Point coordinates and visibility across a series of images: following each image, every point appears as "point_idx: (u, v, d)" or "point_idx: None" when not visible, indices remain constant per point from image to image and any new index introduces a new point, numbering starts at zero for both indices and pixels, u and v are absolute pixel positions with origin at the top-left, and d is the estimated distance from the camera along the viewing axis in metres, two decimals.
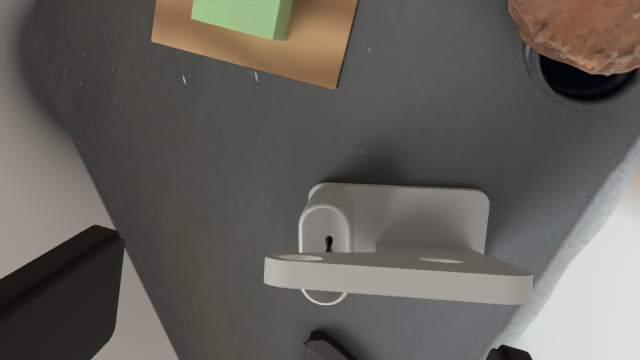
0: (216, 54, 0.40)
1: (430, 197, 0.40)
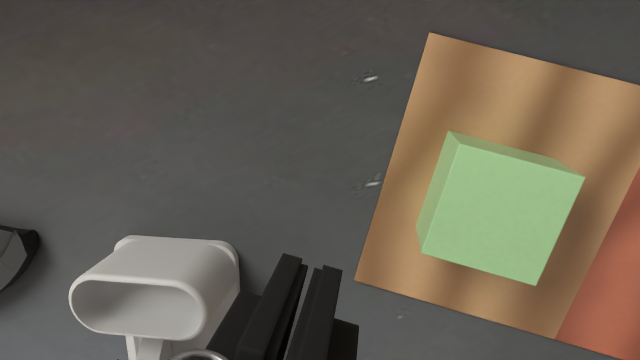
0: (404, 133, 0.28)
1: None
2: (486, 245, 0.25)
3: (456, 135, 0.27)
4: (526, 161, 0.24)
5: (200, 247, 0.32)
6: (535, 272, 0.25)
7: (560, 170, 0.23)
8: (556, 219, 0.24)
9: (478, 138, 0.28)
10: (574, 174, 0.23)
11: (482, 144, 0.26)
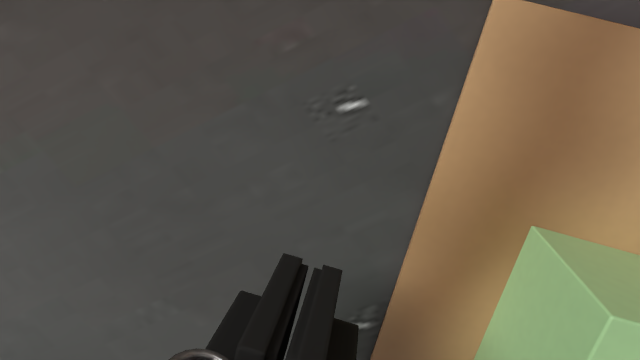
0: (429, 228, 0.13)
1: None
2: None
3: (563, 251, 0.11)
4: None
5: None
6: None
7: None
8: None
9: (603, 245, 0.12)
10: None
11: None
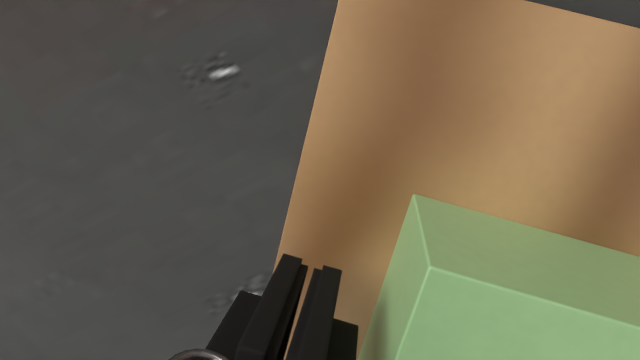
0: (304, 195, 0.13)
1: None
2: None
3: (428, 215, 0.11)
4: (632, 325, 0.08)
5: None
6: None
7: None
8: None
9: (482, 213, 0.12)
10: None
11: (494, 247, 0.10)
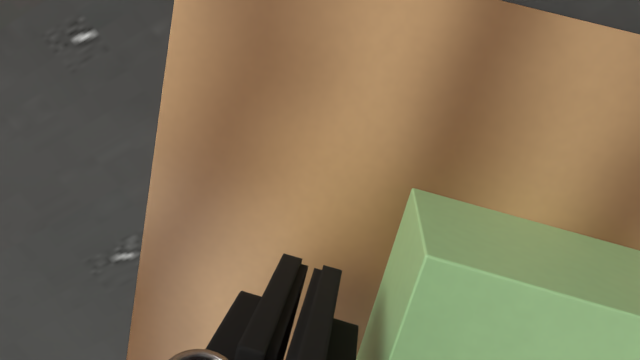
0: (164, 155, 0.13)
1: None
2: None
3: (427, 207, 0.11)
4: (625, 312, 0.08)
5: None
6: None
7: None
8: None
9: (481, 207, 0.12)
10: None
11: (491, 238, 0.10)
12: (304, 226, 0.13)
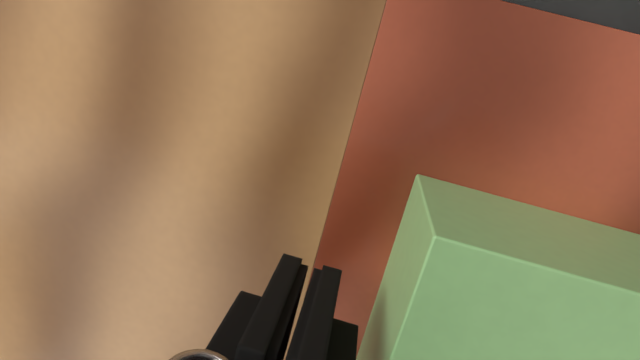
0: None
1: None
2: None
3: (432, 192, 0.11)
4: (639, 293, 0.08)
5: None
6: None
7: None
8: None
9: (486, 193, 0.12)
10: None
11: (499, 222, 0.10)
12: (25, 145, 0.14)
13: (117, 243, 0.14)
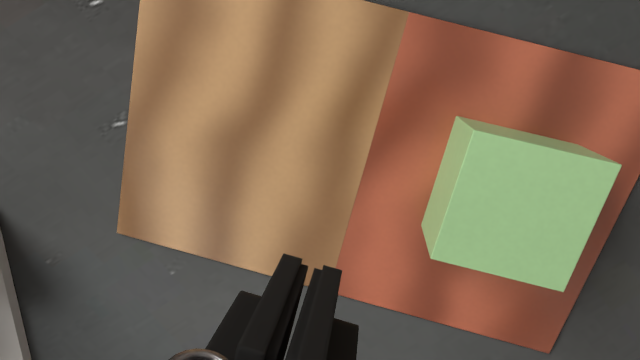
0: (139, 64, 0.26)
1: (7, 340, 0.33)
2: (506, 247, 0.22)
3: (467, 121, 0.23)
4: (552, 148, 0.20)
5: None
6: (563, 276, 0.22)
7: (592, 158, 0.20)
8: (587, 215, 0.21)
9: (491, 124, 0.24)
10: (608, 162, 0.20)
11: (498, 130, 0.22)
12: (212, 99, 0.26)
13: (259, 153, 0.26)
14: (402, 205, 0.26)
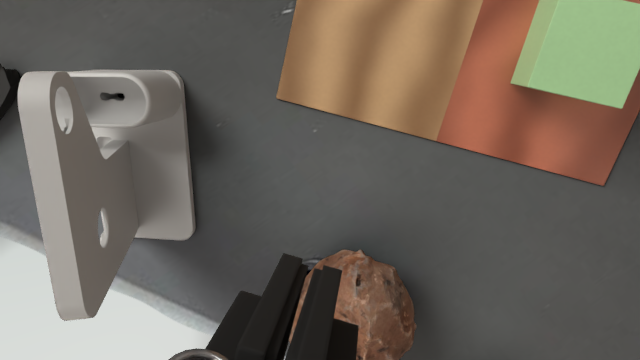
0: None
1: (181, 190, 0.43)
2: (582, 75, 0.31)
3: None
4: None
5: (150, 70, 0.39)
6: (622, 96, 0.31)
7: None
8: None
9: None
10: None
11: None
12: None
13: (392, 30, 0.36)
14: (496, 67, 0.36)
